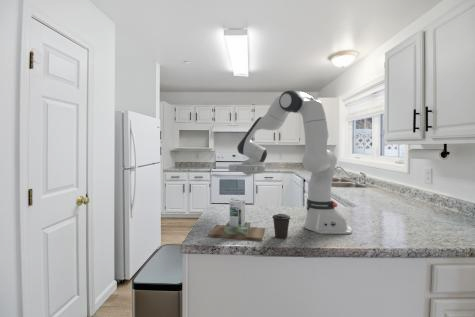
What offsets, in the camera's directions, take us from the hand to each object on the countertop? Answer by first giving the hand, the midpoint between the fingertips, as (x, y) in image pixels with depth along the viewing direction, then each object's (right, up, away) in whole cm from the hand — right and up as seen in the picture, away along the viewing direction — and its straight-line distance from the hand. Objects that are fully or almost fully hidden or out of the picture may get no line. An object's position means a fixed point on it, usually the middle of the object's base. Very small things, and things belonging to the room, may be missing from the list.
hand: (244, 169), depth 142 cm
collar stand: (-4, -29, -17) cm, 34 cm away
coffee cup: (+16, -30, -21) cm, 40 cm away
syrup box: (-4, -28, -17) cm, 33 cm away
